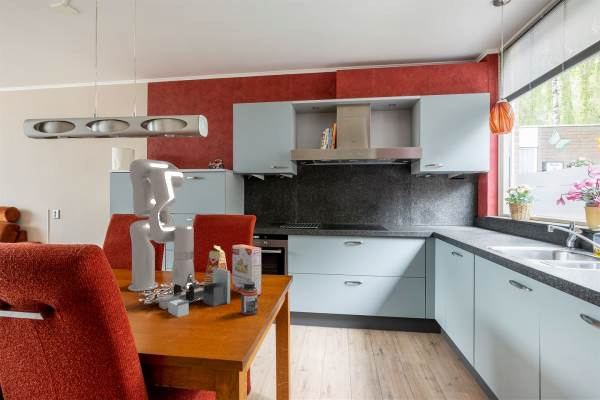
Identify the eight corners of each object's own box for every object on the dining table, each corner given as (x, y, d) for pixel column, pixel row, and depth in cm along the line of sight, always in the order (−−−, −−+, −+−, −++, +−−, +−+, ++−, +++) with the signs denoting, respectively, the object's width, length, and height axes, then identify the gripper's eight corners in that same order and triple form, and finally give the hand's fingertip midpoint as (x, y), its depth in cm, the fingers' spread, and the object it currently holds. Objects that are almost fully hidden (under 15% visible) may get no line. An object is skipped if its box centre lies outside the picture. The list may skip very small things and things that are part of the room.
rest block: (168, 312, 115) (168, 298, 115) (178, 309, 118) (178, 296, 118) (178, 317, 111) (178, 303, 111) (188, 314, 114) (188, 300, 114)
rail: (159, 307, 121) (159, 297, 121) (200, 296, 135) (200, 287, 135) (164, 310, 119) (164, 299, 118) (205, 298, 132) (206, 289, 132)
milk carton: (221, 288, 146) (221, 246, 146) (202, 287, 148) (203, 245, 148) (229, 283, 155) (229, 243, 155) (212, 282, 157) (212, 242, 157)
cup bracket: (201, 301, 127) (201, 269, 127) (215, 298, 132) (215, 267, 132) (215, 307, 121) (215, 273, 121) (229, 303, 126) (230, 270, 126)
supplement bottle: (241, 310, 118) (242, 280, 118) (257, 309, 118) (258, 280, 118) (240, 316, 112) (240, 284, 112) (257, 315, 112) (257, 284, 112)
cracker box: (231, 291, 142) (231, 245, 142) (242, 288, 147) (242, 243, 147) (250, 298, 133) (251, 248, 133) (261, 294, 137) (261, 247, 137)
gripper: (164, 254, 129) (164, 296, 129) (186, 260, 118) (186, 305, 118) (181, 252, 135) (181, 292, 135) (203, 257, 124) (203, 300, 124)
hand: (183, 298), depth 127 cm, fingers open, 9 cm apart
